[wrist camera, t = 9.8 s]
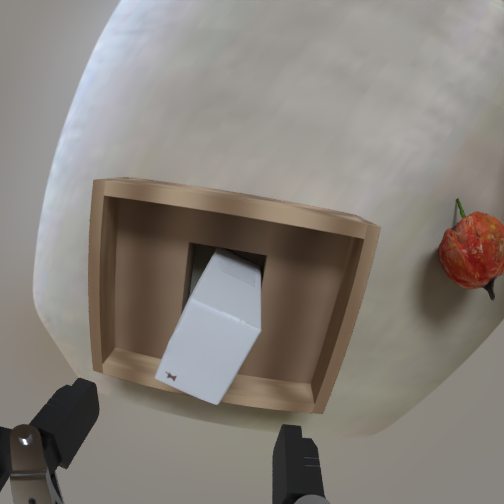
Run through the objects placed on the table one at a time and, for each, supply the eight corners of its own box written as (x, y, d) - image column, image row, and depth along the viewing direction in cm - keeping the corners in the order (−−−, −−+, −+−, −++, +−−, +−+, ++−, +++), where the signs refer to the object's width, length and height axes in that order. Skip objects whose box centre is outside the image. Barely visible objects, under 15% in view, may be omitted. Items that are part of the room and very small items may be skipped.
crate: (356, 215, 26) (381, 227, 20) (313, 374, 30) (322, 413, 24) (126, 177, 26) (93, 179, 20) (118, 338, 30) (93, 370, 24)
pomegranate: (412, 214, 28) (433, 315, 24) (452, 170, 22) (488, 289, 18) (465, 218, 29) (487, 309, 25) (505, 181, 22) (538, 284, 18)
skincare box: (233, 322, 29) (217, 409, 17) (191, 302, 29) (150, 380, 17) (263, 265, 28) (264, 331, 16) (218, 243, 27) (186, 295, 16)
